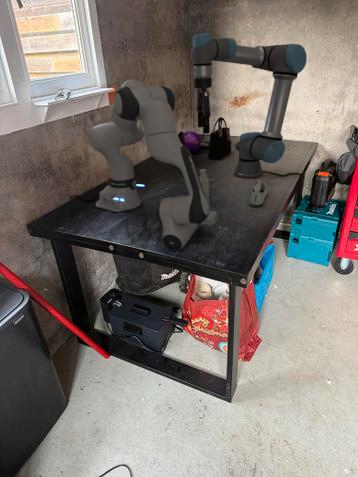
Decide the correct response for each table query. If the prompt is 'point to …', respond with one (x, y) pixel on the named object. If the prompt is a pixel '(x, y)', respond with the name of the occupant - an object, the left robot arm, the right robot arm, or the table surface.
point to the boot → (182, 138)
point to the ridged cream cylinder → (204, 183)
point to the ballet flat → (258, 193)
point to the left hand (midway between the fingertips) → (197, 208)
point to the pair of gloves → (206, 142)
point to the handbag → (219, 141)
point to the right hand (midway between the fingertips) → (203, 130)
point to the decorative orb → (192, 141)
